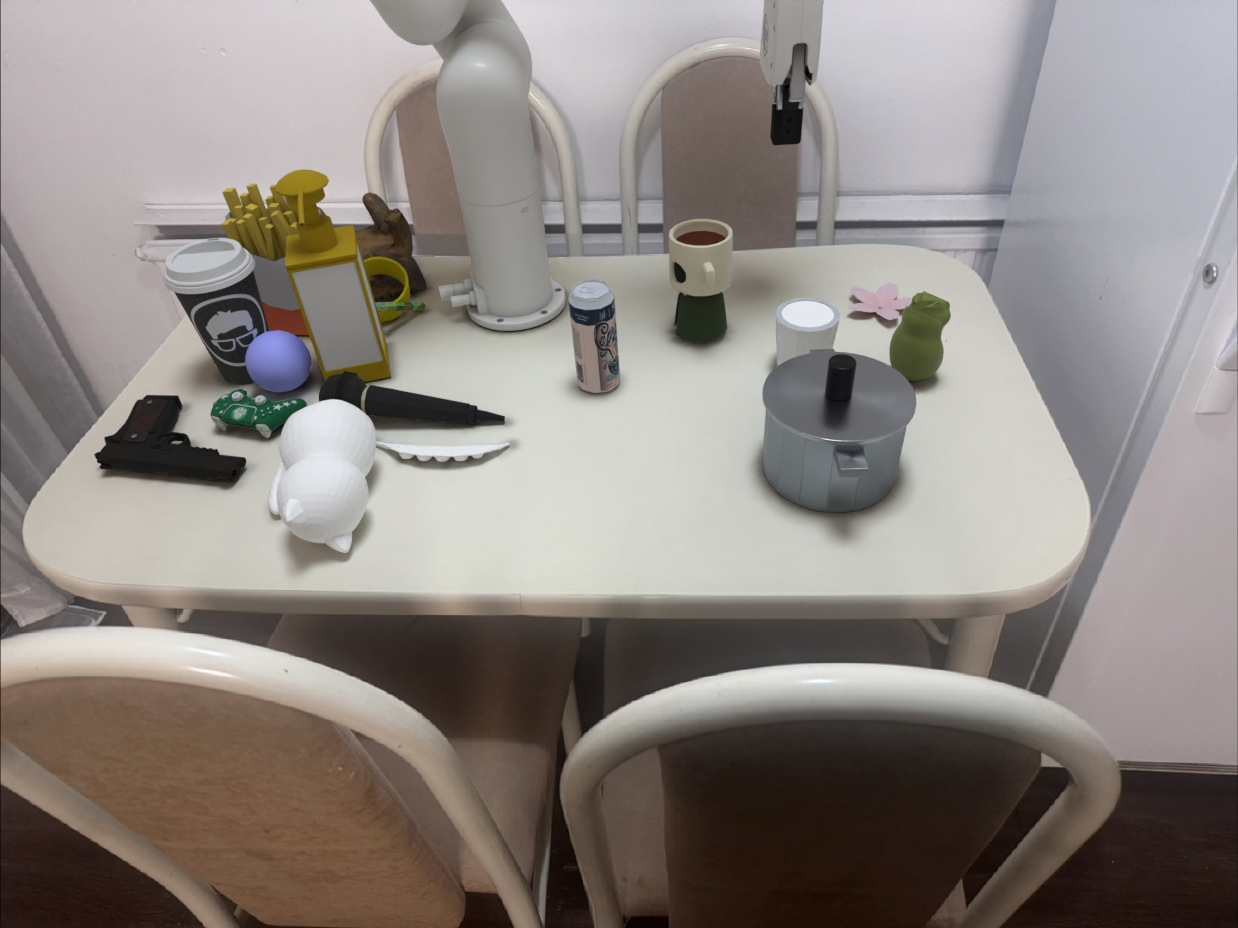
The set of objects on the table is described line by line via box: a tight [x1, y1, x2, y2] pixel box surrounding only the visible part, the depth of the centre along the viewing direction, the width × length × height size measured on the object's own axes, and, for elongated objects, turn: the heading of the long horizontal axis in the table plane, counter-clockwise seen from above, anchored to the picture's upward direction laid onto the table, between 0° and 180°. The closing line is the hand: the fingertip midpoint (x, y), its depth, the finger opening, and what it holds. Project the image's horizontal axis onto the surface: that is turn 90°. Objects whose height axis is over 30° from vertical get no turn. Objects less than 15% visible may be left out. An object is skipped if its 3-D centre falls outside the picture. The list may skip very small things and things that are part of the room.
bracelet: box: [364, 257, 411, 324], centre depth 110 cm, size 7×8×3 cm
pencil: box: [375, 301, 427, 312], centre depth 103 cm, size 1×1×18 cm
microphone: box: [318, 371, 506, 425], centre depth 93 cm, size 6×6×20 cm
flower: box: [847, 282, 913, 321], centre depth 105 cm, size 10×10×2 cm
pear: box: [889, 290, 952, 382], centre depth 91 cm, size 6×5×10 cm
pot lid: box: [761, 351, 917, 445], centre depth 78 cm, size 14×14×5 cm
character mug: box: [668, 218, 734, 344], centre depth 99 cm, size 11×7×13 cm, turn 8°
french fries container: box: [220, 183, 321, 336], centre depth 104 cm, size 5×11×18 cm, turn 83°
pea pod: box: [376, 440, 511, 463], centre depth 89 cm, size 15×4×2 cm, turn 87°
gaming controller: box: [210, 388, 308, 439], centre depth 94 cm, size 9×4×6 cm
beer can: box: [568, 279, 621, 394], centre depth 93 cm, size 5×5×12 cm
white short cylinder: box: [774, 297, 841, 367], centre depth 95 cm, size 7×7×7 cm
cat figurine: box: [267, 399, 377, 554], centre depth 82 cm, size 9×12×15 cm
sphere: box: [245, 330, 312, 393], centre depth 98 cm, size 7×7×7 cm
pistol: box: [93, 394, 247, 484], centre depth 92 cm, size 2×18×12 cm
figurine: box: [317, 192, 427, 302], centre depth 118 cm, size 13×8×20 cm
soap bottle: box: [274, 169, 392, 383], centre depth 92 cm, size 7×13×24 cm, turn 15°
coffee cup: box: [163, 237, 270, 385], centre depth 99 cm, size 10×10×15 cm
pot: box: [762, 348, 908, 514], centre depth 82 cm, size 13×18×8 cm
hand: (785, 141), depth 97 cm, fingers closed
